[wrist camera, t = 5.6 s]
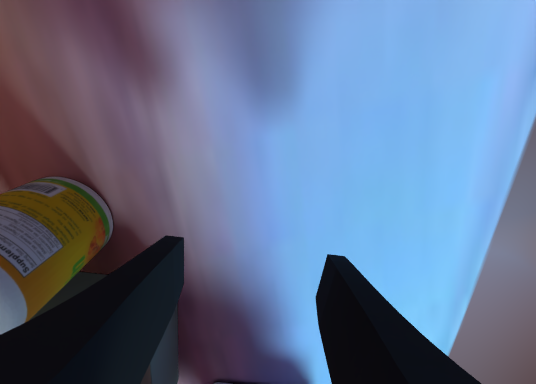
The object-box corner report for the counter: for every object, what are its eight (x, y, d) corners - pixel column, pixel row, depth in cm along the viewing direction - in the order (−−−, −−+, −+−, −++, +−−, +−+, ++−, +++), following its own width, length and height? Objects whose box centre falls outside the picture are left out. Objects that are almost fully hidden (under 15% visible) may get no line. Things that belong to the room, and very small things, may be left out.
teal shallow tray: (177, 282, 18) (148, 342, 14) (178, 379, 22) (157, 447, 18) (-15, 261, 17) (-105, 317, 13) (25, 365, 22) (-34, 431, 17)
